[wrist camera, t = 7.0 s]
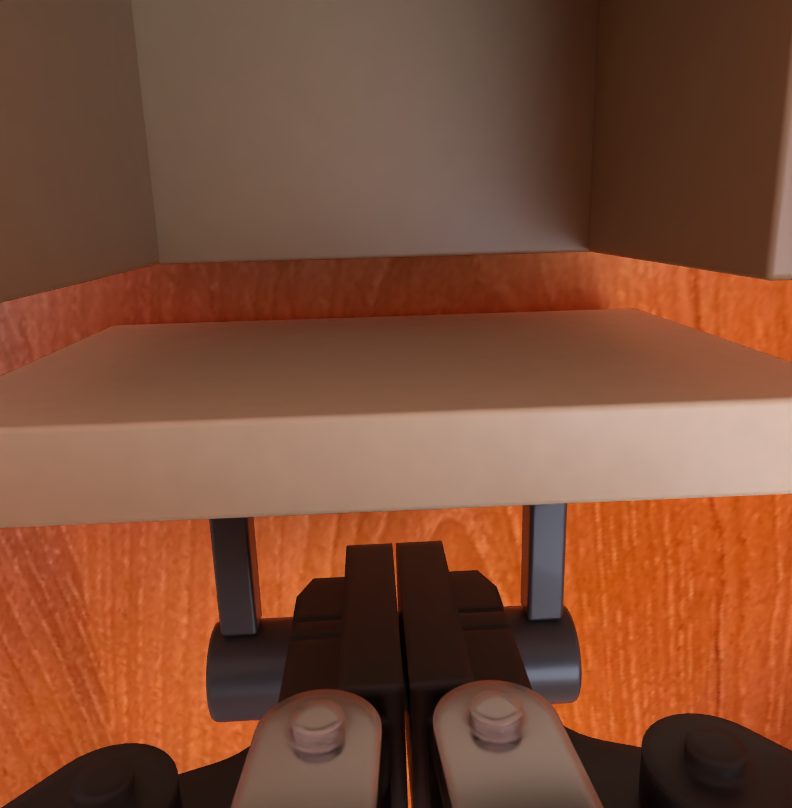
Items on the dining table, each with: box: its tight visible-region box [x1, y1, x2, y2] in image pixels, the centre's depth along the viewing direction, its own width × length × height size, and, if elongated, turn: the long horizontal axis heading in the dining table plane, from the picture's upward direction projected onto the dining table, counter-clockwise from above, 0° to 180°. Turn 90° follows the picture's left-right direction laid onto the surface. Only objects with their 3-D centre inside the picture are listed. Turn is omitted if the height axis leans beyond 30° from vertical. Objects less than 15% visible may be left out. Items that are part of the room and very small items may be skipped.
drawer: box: [0, 0, 792, 722], centre depth 11 cm, size 18×11×8 cm, turn 1°
